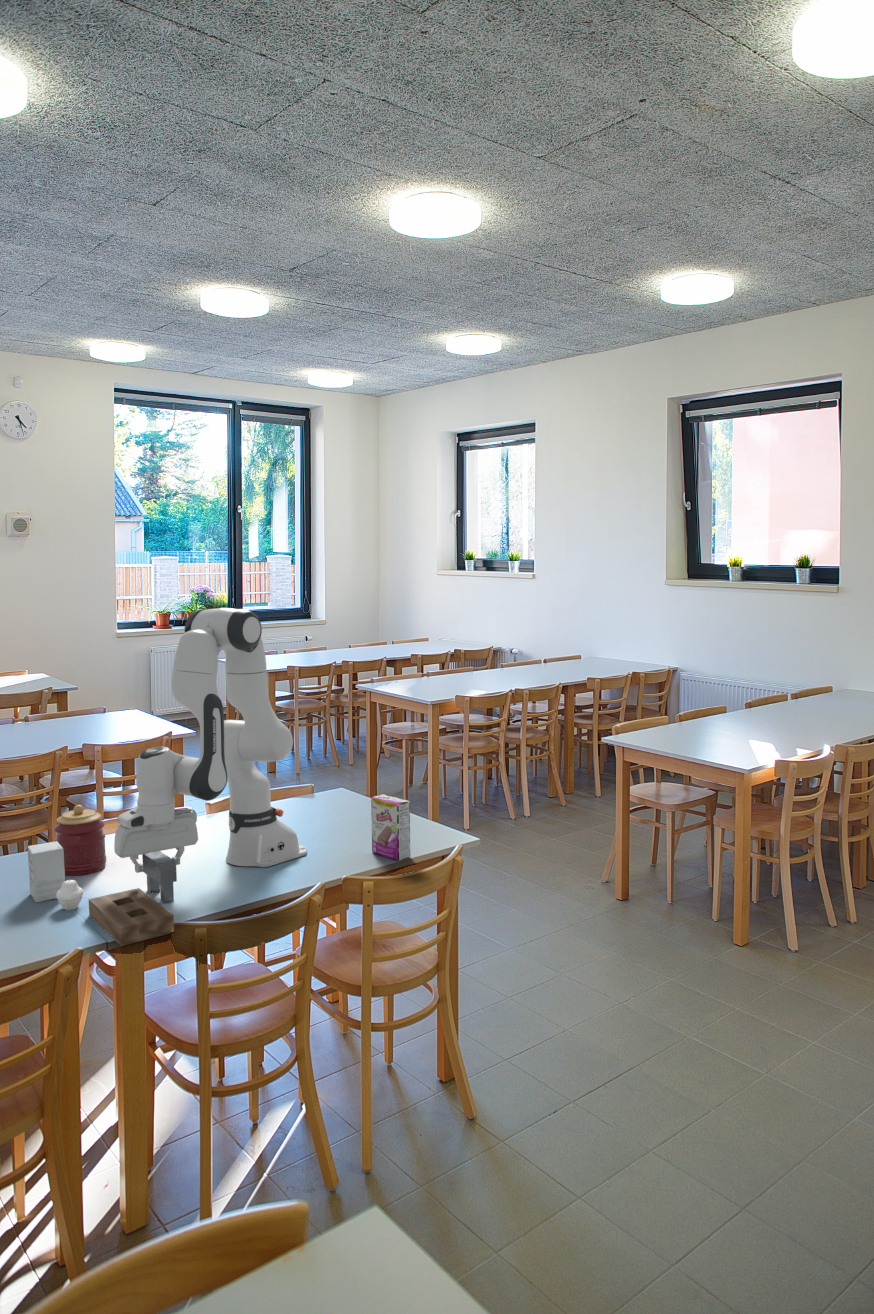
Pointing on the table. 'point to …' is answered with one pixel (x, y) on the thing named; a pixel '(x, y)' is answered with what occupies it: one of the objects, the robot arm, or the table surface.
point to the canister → (81, 841)
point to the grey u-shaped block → (160, 874)
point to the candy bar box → (390, 827)
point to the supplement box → (45, 870)
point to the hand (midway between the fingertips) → (157, 868)
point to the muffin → (69, 895)
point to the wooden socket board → (131, 916)
